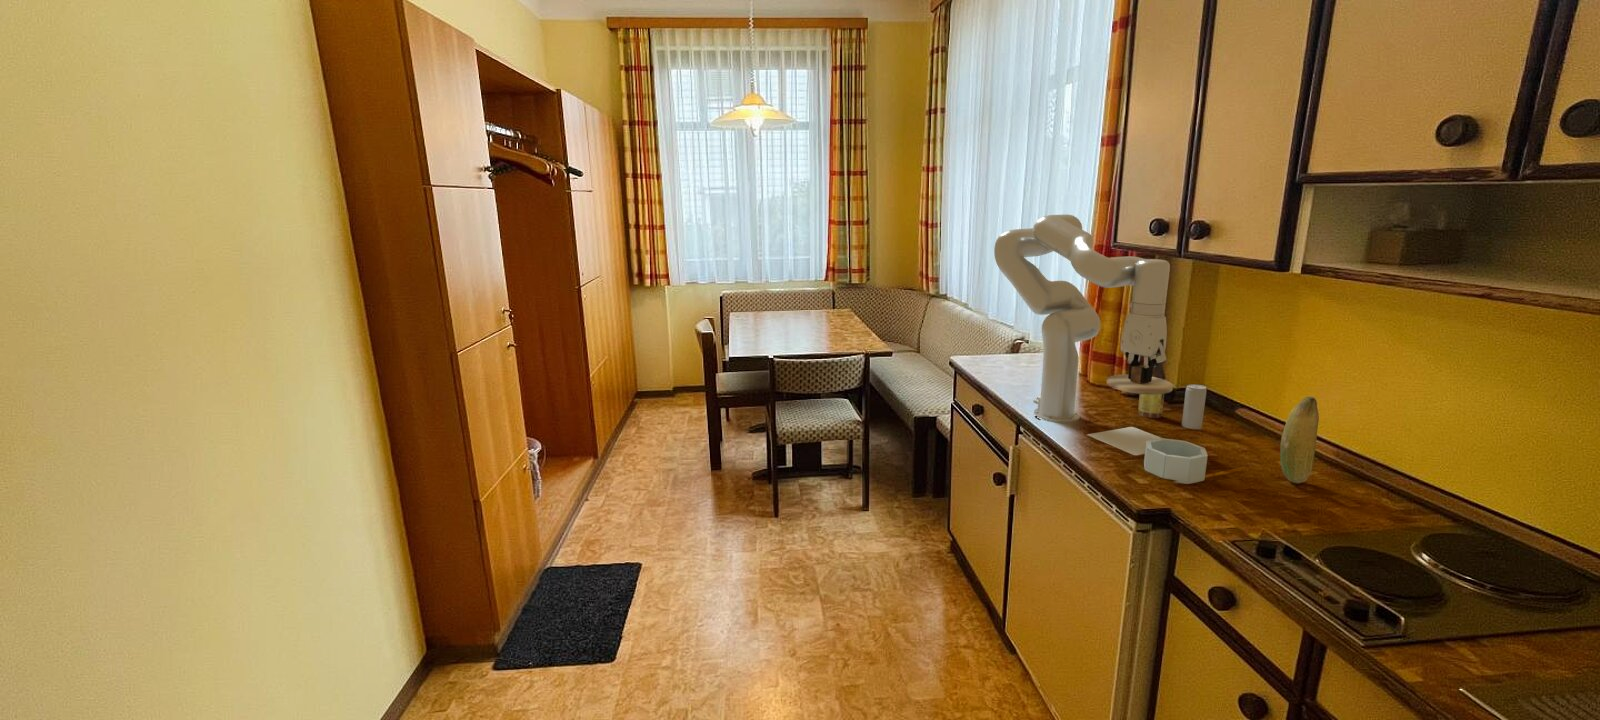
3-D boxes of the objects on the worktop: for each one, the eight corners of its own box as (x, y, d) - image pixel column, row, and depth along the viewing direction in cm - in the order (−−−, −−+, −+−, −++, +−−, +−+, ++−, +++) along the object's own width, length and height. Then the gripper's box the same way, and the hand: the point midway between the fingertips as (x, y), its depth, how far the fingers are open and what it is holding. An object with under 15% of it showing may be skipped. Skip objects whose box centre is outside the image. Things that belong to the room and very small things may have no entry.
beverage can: (1200, 426, 180) (1206, 385, 177) (1201, 432, 176) (1207, 389, 173) (1180, 424, 182) (1185, 383, 179) (1181, 429, 178) (1186, 387, 175)
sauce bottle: (1164, 420, 185) (1172, 353, 181) (1141, 419, 187) (1148, 352, 182) (1157, 413, 192) (1165, 348, 187) (1134, 412, 193) (1141, 347, 188)
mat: (1086, 436, 174) (1086, 434, 174) (1131, 428, 179) (1132, 426, 179) (1134, 457, 159) (1134, 455, 159) (1182, 448, 165) (1183, 446, 165)
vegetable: (1303, 490, 140) (1319, 402, 135) (1269, 481, 145) (1283, 396, 140) (1313, 483, 143) (1328, 397, 139) (1280, 474, 148) (1294, 391, 144)
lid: (1093, 381, 170) (1095, 363, 169) (1137, 375, 175) (1139, 357, 174) (1140, 397, 157) (1143, 377, 155) (1186, 390, 161) (1189, 370, 160)
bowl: (1132, 466, 154) (1134, 443, 153) (1169, 459, 158) (1172, 436, 157) (1176, 486, 143) (1179, 461, 142) (1215, 478, 147) (1219, 453, 146)
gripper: (1110, 305, 167) (1103, 374, 172) (1164, 315, 152) (1155, 390, 157) (1132, 303, 170) (1125, 371, 174) (1188, 313, 155) (1178, 387, 159)
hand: (1139, 379), depth 165 cm, fingers closed on lid, 3 cm apart
